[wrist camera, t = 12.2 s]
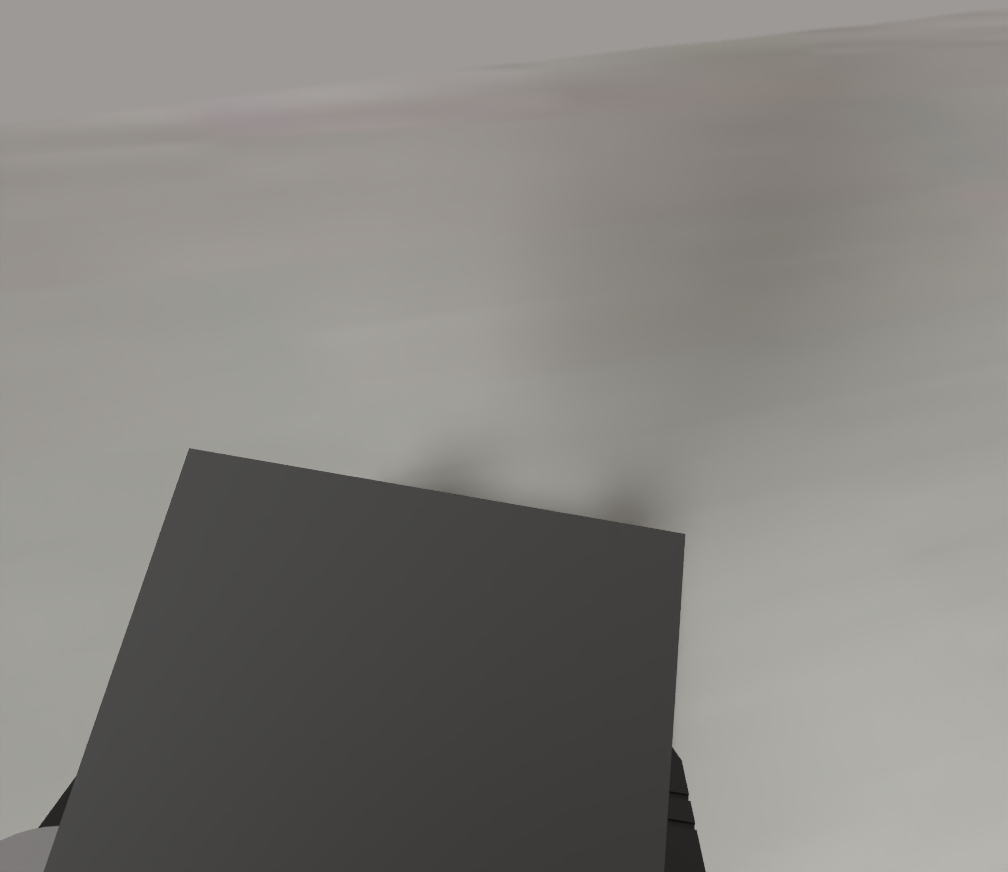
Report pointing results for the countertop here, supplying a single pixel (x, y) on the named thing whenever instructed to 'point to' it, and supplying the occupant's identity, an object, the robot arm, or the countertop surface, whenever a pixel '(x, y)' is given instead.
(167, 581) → the dark grey cuboid
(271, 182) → the countertop surface
